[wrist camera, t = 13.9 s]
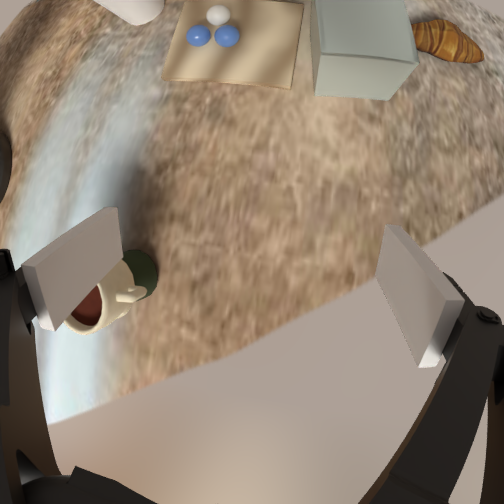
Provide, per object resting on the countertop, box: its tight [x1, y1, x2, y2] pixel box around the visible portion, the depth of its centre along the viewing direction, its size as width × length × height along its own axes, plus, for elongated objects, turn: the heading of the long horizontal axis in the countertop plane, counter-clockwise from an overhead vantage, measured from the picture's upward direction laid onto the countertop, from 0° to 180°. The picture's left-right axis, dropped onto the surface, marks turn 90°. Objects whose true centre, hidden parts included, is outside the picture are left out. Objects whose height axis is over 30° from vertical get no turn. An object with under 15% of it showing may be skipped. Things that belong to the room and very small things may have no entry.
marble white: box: [206, 5, 231, 26], centre depth 30 cm, size 3×3×3 cm
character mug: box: [64, 250, 157, 335], centre depth 32 cm, size 11×7×13 cm, turn 90°
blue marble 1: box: [186, 25, 211, 47], centre depth 31 cm, size 3×3×3 cm
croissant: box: [411, 19, 484, 63], centre depth 27 cm, size 14×7×5 cm, turn 88°
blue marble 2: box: [214, 25, 240, 47], centre depth 31 cm, size 3×3×3 cm
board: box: [161, 0, 304, 90], centre depth 32 cm, size 16×13×1 cm
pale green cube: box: [310, 0, 420, 101], centre depth 26 cm, size 9×9×11 cm
